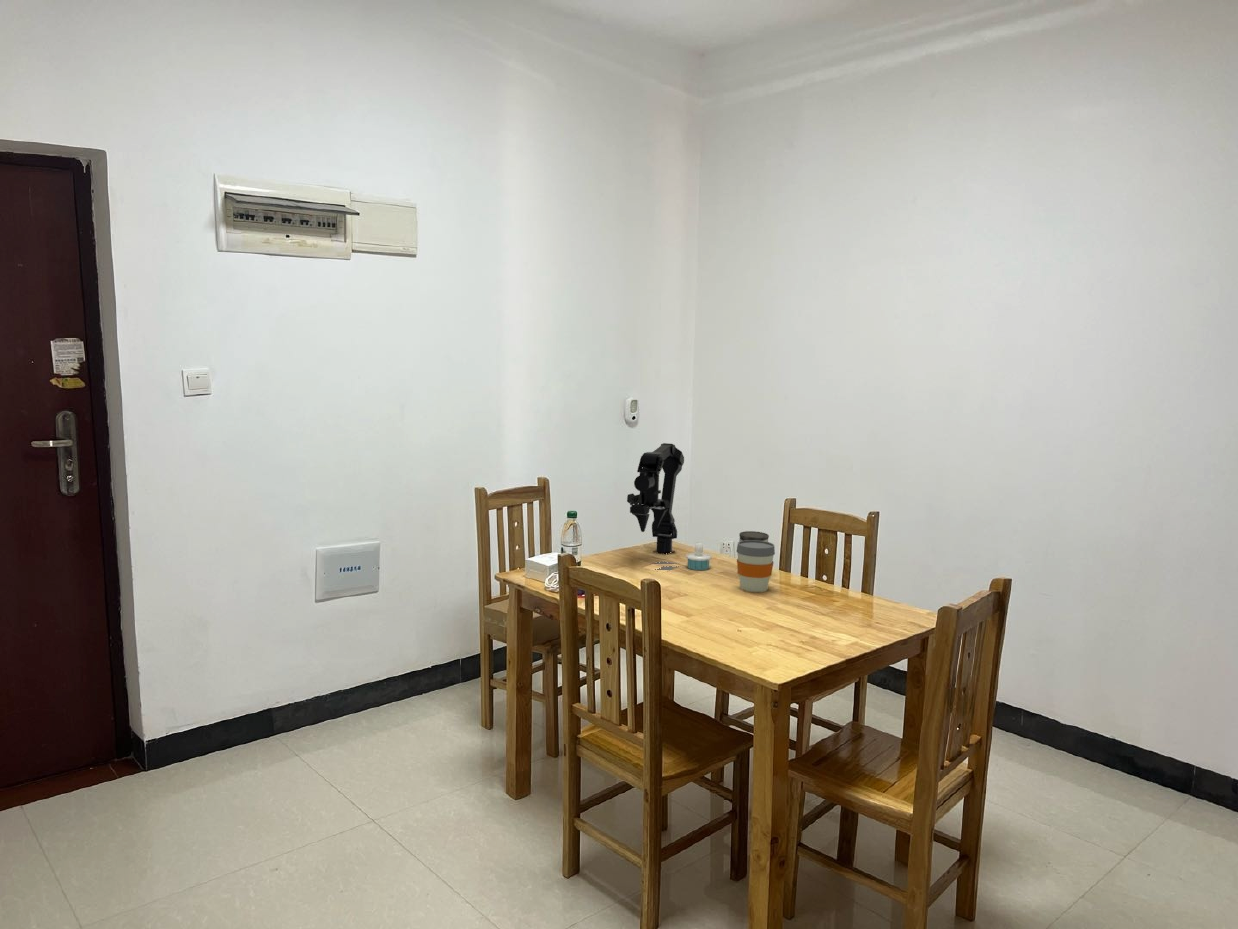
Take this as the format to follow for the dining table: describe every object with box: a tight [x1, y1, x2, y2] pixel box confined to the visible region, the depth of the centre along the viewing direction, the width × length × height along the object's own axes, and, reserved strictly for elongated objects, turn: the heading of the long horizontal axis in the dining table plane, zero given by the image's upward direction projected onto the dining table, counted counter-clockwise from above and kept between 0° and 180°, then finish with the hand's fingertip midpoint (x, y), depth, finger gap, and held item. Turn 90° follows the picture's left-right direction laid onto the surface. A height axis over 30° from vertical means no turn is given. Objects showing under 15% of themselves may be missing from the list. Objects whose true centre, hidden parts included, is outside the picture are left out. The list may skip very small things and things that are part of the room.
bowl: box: [686, 559, 710, 571], centre depth 309 cm, size 8×8×4 cm
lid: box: [685, 542, 712, 561], centre depth 309 cm, size 9×9×5 cm
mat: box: [651, 560, 679, 571], centre depth 310 cm, size 14×10×1 cm
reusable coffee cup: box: [736, 540, 776, 593], centre depth 285 cm, size 13×13×15 cm
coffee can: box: [738, 530, 770, 542], centre depth 305 cm, size 10×10×14 cm
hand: (649, 529), depth 314 cm, fingers open, 9 cm apart
